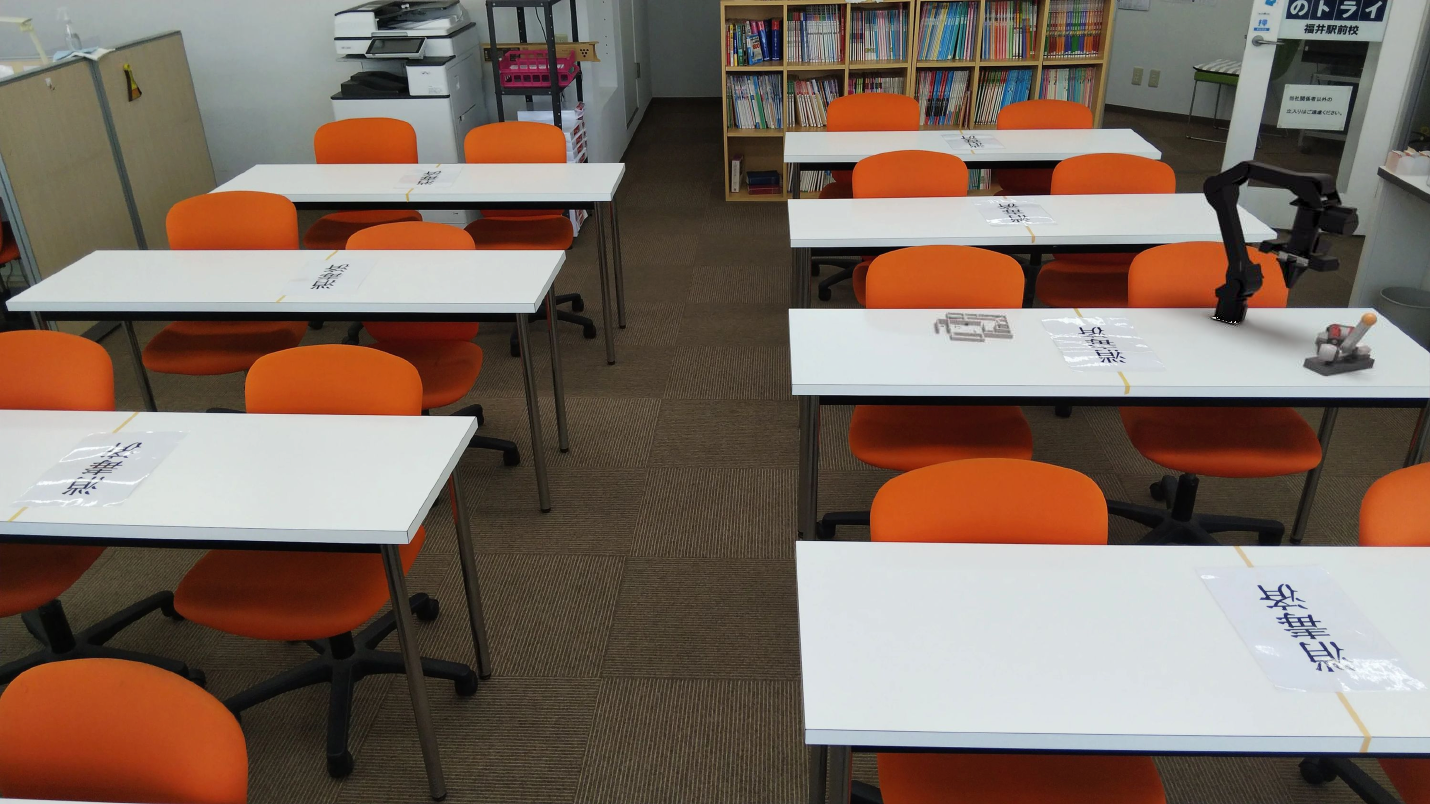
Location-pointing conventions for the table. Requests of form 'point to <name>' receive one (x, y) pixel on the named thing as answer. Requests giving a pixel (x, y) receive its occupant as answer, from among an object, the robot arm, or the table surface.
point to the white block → (1363, 348)
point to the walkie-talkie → (1334, 335)
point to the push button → (1327, 352)
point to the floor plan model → (1001, 329)
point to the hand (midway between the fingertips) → (1288, 288)
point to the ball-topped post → (1357, 334)
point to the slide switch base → (1340, 363)
